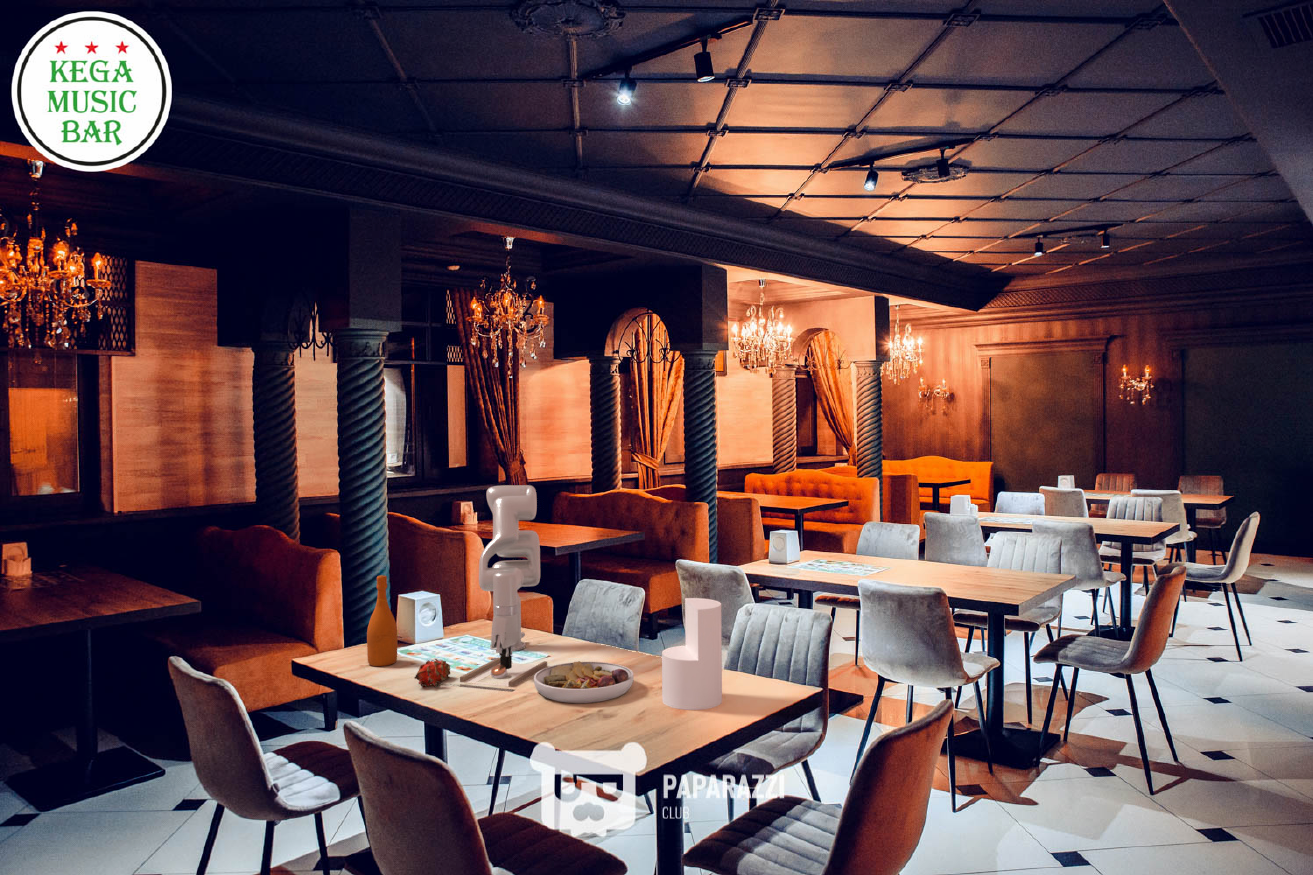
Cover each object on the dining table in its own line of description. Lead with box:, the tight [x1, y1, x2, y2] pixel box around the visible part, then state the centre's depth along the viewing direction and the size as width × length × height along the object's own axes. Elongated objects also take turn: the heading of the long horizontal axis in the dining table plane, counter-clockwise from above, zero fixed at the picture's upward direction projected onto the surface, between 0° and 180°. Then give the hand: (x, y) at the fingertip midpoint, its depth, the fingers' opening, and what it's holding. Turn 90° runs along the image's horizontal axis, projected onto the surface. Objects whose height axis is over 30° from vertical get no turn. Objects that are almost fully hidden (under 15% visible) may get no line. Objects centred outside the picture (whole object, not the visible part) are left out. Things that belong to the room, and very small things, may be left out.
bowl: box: [533, 660, 635, 704], centre depth 258 cm, size 30×30×8 cm
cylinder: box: [661, 597, 723, 711], centre depth 247 cm, size 17×17×28 cm
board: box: [459, 656, 548, 693], centre depth 271 cm, size 24×18×3 cm
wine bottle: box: [366, 574, 398, 667], centre depth 290 cm, size 10×10×30 cm
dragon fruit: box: [414, 658, 451, 688], centre depth 265 cm, size 8×8×12 cm
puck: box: [490, 665, 509, 679], centre depth 268 cm, size 5×5×3 cm
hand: (506, 668), depth 271 cm, fingers closed
